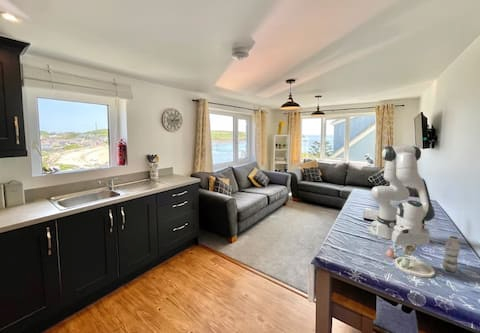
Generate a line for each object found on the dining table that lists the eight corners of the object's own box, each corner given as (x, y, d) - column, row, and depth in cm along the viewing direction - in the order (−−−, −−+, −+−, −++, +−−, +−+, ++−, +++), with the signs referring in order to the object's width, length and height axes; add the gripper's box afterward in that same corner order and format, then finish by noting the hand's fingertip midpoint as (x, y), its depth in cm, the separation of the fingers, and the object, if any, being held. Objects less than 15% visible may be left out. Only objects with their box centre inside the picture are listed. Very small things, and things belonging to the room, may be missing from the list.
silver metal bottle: (456, 269, 129) (461, 237, 126) (457, 275, 124) (462, 241, 121) (441, 265, 133) (446, 233, 130) (441, 270, 128) (446, 237, 125)
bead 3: (399, 265, 131) (400, 257, 130) (406, 265, 131) (406, 257, 130) (404, 269, 127) (405, 261, 127) (410, 269, 127) (411, 261, 127)
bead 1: (385, 256, 142) (386, 249, 142) (391, 256, 142) (391, 249, 142) (389, 259, 139) (389, 252, 138) (394, 259, 139) (395, 252, 138)
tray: (387, 260, 138) (388, 256, 138) (417, 260, 138) (417, 257, 138) (409, 278, 120) (409, 275, 120) (442, 279, 120) (443, 275, 120)
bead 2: (403, 252, 135) (404, 244, 134) (409, 252, 135) (410, 244, 134) (407, 255, 131) (408, 247, 130) (413, 255, 131) (414, 247, 130)
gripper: (425, 226, 133) (422, 248, 135) (391, 226, 134) (388, 247, 136) (434, 230, 127) (431, 253, 129) (398, 230, 127) (395, 253, 129)
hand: (409, 250), depth 132 cm, fingers closed on bead 2, 3 cm apart
